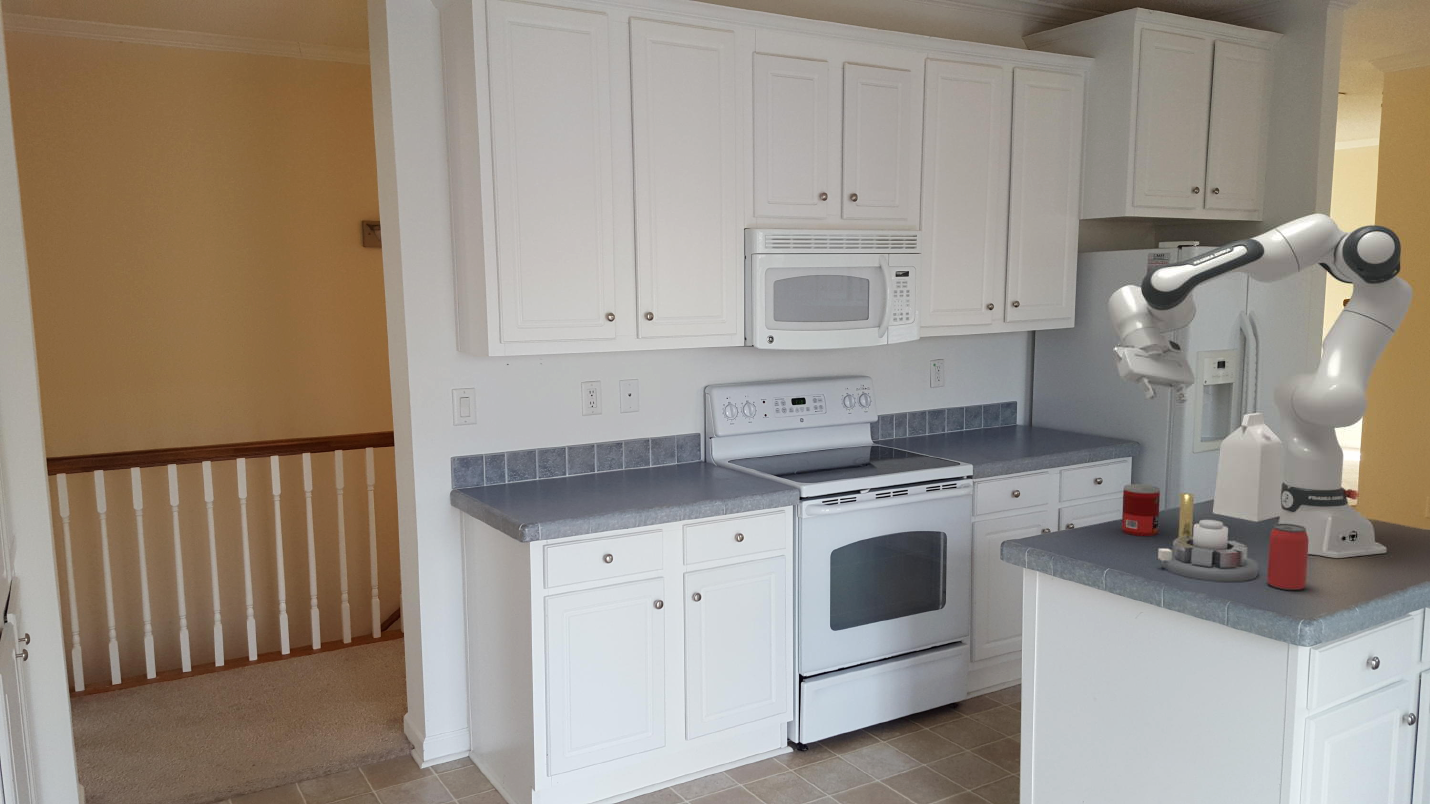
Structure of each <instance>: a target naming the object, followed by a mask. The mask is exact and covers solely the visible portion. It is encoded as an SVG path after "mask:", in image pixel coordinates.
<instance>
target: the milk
mask: <svg viewBox="0 0 1430 804" xmlns="http://www.w3.org/2000/svg"><path fill="white" fill-rule="evenodd" d="M1242 418H1243V420H1242V423H1241V426H1240V427H1238V428H1237V429H1235V430H1234V431H1233V432H1231V433H1230V434H1229V435H1228V436H1227V437H1225V438H1224V439H1223V440H1222V442H1221V443H1220V446H1219V447H1220V448H1219V457H1218V466H1217V473H1216V481H1215V482H1216V483H1215V488H1214V489H1215V490H1214V491H1215V492H1214V497H1213V499H1214V500H1213V508H1212V514H1216V515H1221V516H1226V517H1230V518H1236V519H1242V520H1245V521H1251V522H1255V523H1257V522H1262V521H1265V520H1269V519H1274V518H1278V517H1279V518H1280V514H1281V508H1282V506H1281V488H1282V483H1283V482H1284V444H1283V442H1282V441H1281V439H1280V438H1279V436H1277V435H1276V434H1275V432H1273V431H1272V430H1271V429H1270V427H1268V426H1267V425H1266V424H1265V420H1264V416H1263V413H1261V412H1256V413H1255V412H1254V413H1248V414H1244V415H1243V417H1242Z"/></svg>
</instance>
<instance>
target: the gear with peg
mask: <svg viewBox="0 0 1430 804" xmlns="http://www.w3.org/2000/svg"><path fill="white" fill-rule="evenodd" d="M1194 498H1195V494H1193V493H1189V492H1182V493H1180V498H1179V499H1180V501H1179V520H1178V522H1179V523H1178V537H1177V538H1175V539H1174V540H1173V541H1172V550H1173V555H1174V557H1175V558H1177V559H1179V560H1181V561H1183V562H1191V564H1195V565H1201V566H1207V567H1212V566H1213V565H1215V566H1217V567H1220V568H1226V567H1238V565H1240V566H1243V565H1244V564H1245V563H1246V562H1247V557H1248V546H1247V545H1246V544H1243V543H1240V542H1238V541H1235V540H1227V550H1210V549H1204V548H1197V547H1194V546H1193V523H1194V522H1193V520H1194V518H1193V516H1194V500H1195V499H1194Z"/></svg>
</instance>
